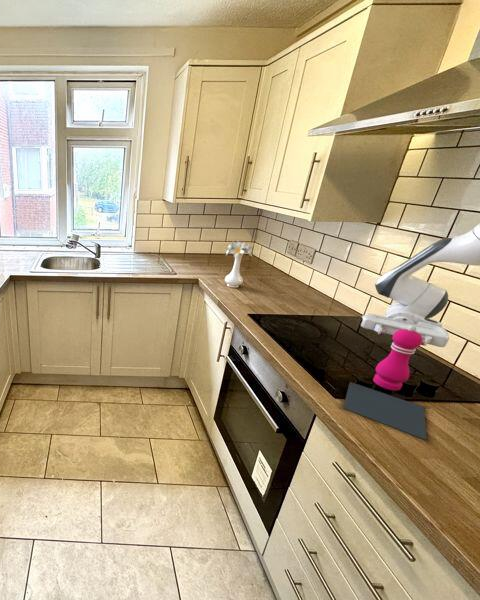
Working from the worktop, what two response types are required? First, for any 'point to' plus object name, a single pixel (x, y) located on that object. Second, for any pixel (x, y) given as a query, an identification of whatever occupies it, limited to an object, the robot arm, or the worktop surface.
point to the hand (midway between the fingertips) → (401, 337)
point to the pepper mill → (398, 359)
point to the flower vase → (236, 262)
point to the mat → (386, 409)
